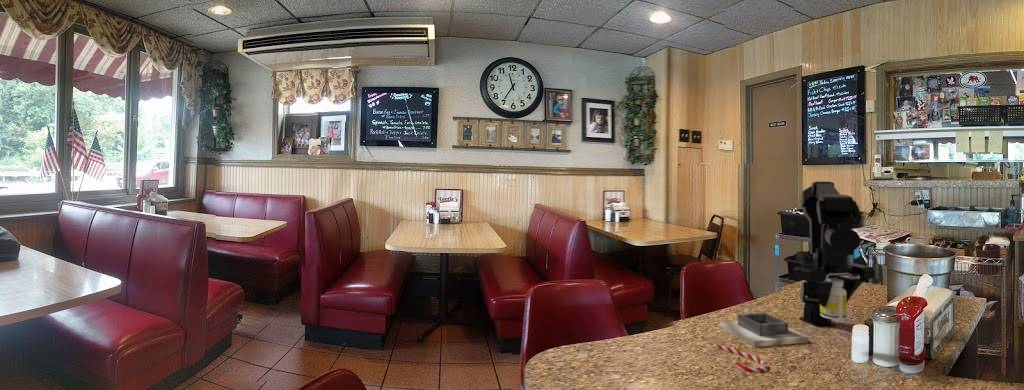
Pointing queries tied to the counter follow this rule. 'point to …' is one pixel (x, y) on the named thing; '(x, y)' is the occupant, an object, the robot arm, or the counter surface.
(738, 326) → the holder board
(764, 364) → the candy cane
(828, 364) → the counter surface
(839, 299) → the supplement bottle
